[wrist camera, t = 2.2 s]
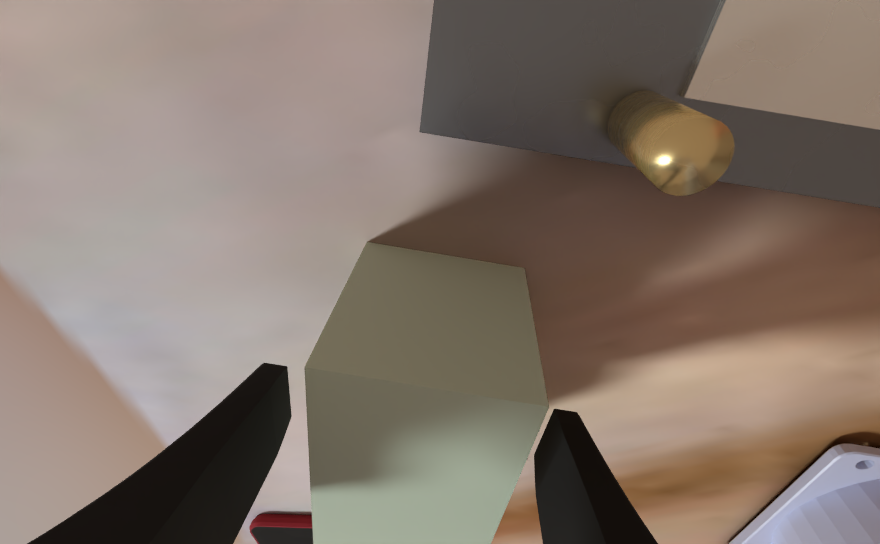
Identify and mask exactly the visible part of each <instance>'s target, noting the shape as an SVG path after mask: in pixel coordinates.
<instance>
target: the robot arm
mask: <svg viewBox="0 0 880 544" xmlns="http://www.w3.org/2000/svg"><path fill="white" fill-rule="evenodd" d="M290 419H291V406H290V394H289V382H288V371H287V366H281V365H275V364H268V363H264V364H262V365H261V366H259V367H258V368H257V369H256V370H255V371H254V372H253V373H252V374H251V375H250V376H249V377H248V378H247V379H246V380H245V381H244V382H242V383H241V384H240V385H239V386H238V387H237V388H236V389H235V390H234V391H233V392H232V393H231V394H229V395H228V396H227V397H226V398H225V399H224V400H223V401H222V402H221V403H219V404H218V405H217V406H216V407H215V408H214V409H213V410H211V411H210V412H209V413H208V414H207V415H206V416H205V417H203V418H202V419H201V420H200V421H199V422H198V423H196V424H195V425H194V426H193V427H192V428H191V429H189V430H188V431H187V432H186V433H185V434H183V435H182V436H181V437H180V438H178V439H177V440H176V441H175V442H173V443H172V444H171V445H170V446H168V447H167V448H166V449H165V450H163V451H162V452H161V453H160V454H158V455H157V456H156V457H155V458H153V459H152V460H151V461H149V462H148V463H147V464H145V465H144V466H143V467H141V468H140V469H139V470H137V471H136V472H135V473H133V474H132V475H131V476H129V477H128V478H126V479H125V480H124V481H122V482H121V483H119V484H118V485H117V486H115V487H114V488H112V489H111V490H110V491H108V492H107V493H105V494H104V495H102V496H101V497H99V498H98V499H96V500H95V501H93V502H92V503H90V504H89V505H87V506H86V507H84V508H83V509H81V510H80V511H78V512H77V513H75V514H74V515H72V516H71V517H69V518H68V519H66V520H65V521H63V522H62V523H60V524H58V525H57V526H55V527H54V528H52V529H51V530H49V531H47V532H46V533H44V534H43V535H41V536H39V537H38V538H36V539H34V540H33V541H31V542H29V543H28V544H233V543H234V541H235V539H236V537H237V535H238V533H239V531H240V529H241V527H242V525H243V523H244V521H245V519H246V517H247V515H248V513H249V511H250V509H251V507H252V505H253V503H254V501H255V499H256V497H257V495H258V493H259V491H260V489H261V487H262V485H263V483H264V481H265V479H266V477H267V475H268V473H269V471H270V469H271V467H272V465H273V463H274V460H275V458H276V456H277V454H278V452H279V449H280V446H281V444H282V441H283V439H284V436H285V433H286V430H287V427H288V425H289V422H290ZM534 463H535V488H536V499H537V506H538V513H539V519H540V526H541V533H542V539H543V544H658V543H657V542H656V540H655V539H654V537H653V536H652V534H651V533H650V531H649V530H648V528H647V527H646V525H645V524H644V523H643V521H642V520H641V518H640V517H639V515H638V514H637V512H636V510H635V509H634V507H633V506H632V504H631V503H630V501H629V500H628V498H627V496H626V495H625V493H624V492H623V490H622V488H621V487H620V485H619V483H618V482H617V480H616V479H615V477H614V475H613V474H612V472H611V470H610V469H609V467H608V465H607V464H606V462H605V460H604V458H603V457H602V455H601V453H600V452H599V450H598V448H597V446H596V445H595V443H594V441H593V439H592V438H591V436H590V434H589V432H588V430H587V429H586V427H585V425H584V423H583V421H582V420H581V418H580V416H579V415H578V413H577V412H572V411H565V410H559V409H554V411H553V413H552V415H551V417H550V420H549V422H548V424H547V427H546V429H545V431H544V433H543V436H542V438H541V440H540V443H539V445H538V447H537V449H536V452H535V454H534ZM729 544H880V448H874V447H868V446H862V445H856V444H846V443H844V444H838V445H836V446H833V447H831V448H830V449H829V450H827V451H826V452H825V453H824V454H823V455H822V456H821V457H820V458H819V459H818V460H817V461H816V462H815V463H814V464H813V465H812V466H810V467H809V468H808V469H807V470H806V471H805V472H804V473H803V474H802V475H801V476H800V477H799V478H798V479H797V480H796V481H795V482H793V483H792V484H791V485H790V486H789V487H788V488H787V489H786V490H785V491H784V492H783V493H782V494H781V495H780V496H779V497H778V498H776V499H775V500H774V501H773V502H772V503H771V504H770V505H769V506H768V507H767V508H766V509H765V510H764V511H763V512H762V513H761V514H759V515H758V516H757V517H756V518H755V519H754V520H753V521H752V522H751V523H750V524H749V525H748V526H747V527H746V528H745V529H744V530H743V531H741V532H740V533H739V534H738V535H737V536H736V537H735V538H734V539H733V540H732V541H731V542H730V543H729Z"/></svg>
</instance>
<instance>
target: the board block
mask: <svg viewBox="0 0 880 544" xmlns="http://www.w3.org/2000/svg"><path fill="white" fill-rule="evenodd" d="M305 385H306V405H307V426H308V446H309V466H310V487H311V507H312V528H313V544H491V542H492V540H493V537H494V535H495V533H496V530H497V528H498V525H499V523H500V521H501V518H502V516H503V514H504V511H505V509H506V507H507V504H508V502H509V500H510V497H511V495H512V493H513V490H514V488H515V486H516V483H517V481H518V479H519V476H520V474H521V471H522V469H523V467H524V464H525V462H526V460H527V457H528V455H529V453H530V450H531V448H532V446H533V443H534V441H535V439H536V436H537V434H538V432H539V429H540V427H541V424H542V422H543V420H544V417H545V415H546V413H547V410H548V408H549V404H548V399H547V393H546V387H545V382H544V376H543V370H542V365H541V359H540V353H539V348H538V342H537V336H536V331H535V325H534V319H533V314H532V308H531V302H530V297H529V291H528V285H527V280H526V274H525V268H522V267H516V266H510V265H504V264H497V263H491V262H485V261H479V260H473V259H467V258H461V257H455V256H449V255H443V254H437V253H431V252H425V251H419V250H413V249H407V248H401V247H395V246H389V245H383V244H377V243H371V242H367V243H366V245H365V247H364V249H363V251H362V253H361V255H360V257H359V259H358V261H357V263H356V265H355V267H354V269H353V271H352V273H351V275H350V277H349V279H348V281H347V283H346V285H345V287H344V289H343V291H342V293H341V295H340V297H339V299H338V301H337V303H336V305H335V307H334V309H333V311H332V313H331V315H330V317H329V319H328V321H327V323H326V325H325V327H324V329H323V331H322V333H321V335H320V337H319V339H318V341H317V343H316V345H315V347H314V349H313V351H312V353H311V355H310V357H309V359H308V361H307V364H306V366H305Z"/></svg>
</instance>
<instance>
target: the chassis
mask: <svg viewBox="0 0 880 544" xmlns="http://www.w3.org/2000/svg"><path fill="white" fill-rule="evenodd" d="M420 132H422V133H428V134H434V135H440V136H446V137H452V138H459V139H465V140H471V141H477V142H483V143H489V144H495V145H501V146H507V147H513V148H519V149H525V150H532V151H538V152H544V153H550V154H556V155H562V156H568V157H574V158H580V159H586V160H592V161H598V162H605V163H611V164H617V165H623V166H629V167H635V168H638V169H639V170H640V171H641V172H642V173H643V174H644V175H645V176H646V177H647V178H648V179H649V180H650V181H651V182H652V183H653V184H654V185H655V186H656V187H657V188H658V189H659V190H661V191H662V192H664V193H667V194H670V195H675V196H685V195H690V194H694V193H697V192H700V191H702V190H704V189H706V188H708V187H709V186H711V185H712V184H713V183H715V182H716V181H720V182H726V183H732V184H738V185H744V186H751V187H757V188H763V189H769V190H775V191H781V192H787V193H793V194H799V195H805V196H811V197H817V198H824V199H830V200H836V201H842V202H848V203H854V204H860V205H866V206H872V207H878V208H880V0H434V6H433V15H432V24H431V33H430V42H429V52H428V61H427V70H426V79H425V88H424V97H423V106H422V115H421V124H420Z"/></svg>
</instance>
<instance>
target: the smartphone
mask: <svg viewBox="0 0 880 544" xmlns="http://www.w3.org/2000/svg"><path fill="white" fill-rule="evenodd" d="M250 533H251V534H252V536H253V537H254V539H255V540H256V542H257V543H258V544H313V528H312V515H292V514H261V515H258V516H257V517H256V518H255V519H254V520H253V521H252V523H251V525H250Z"/></svg>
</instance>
